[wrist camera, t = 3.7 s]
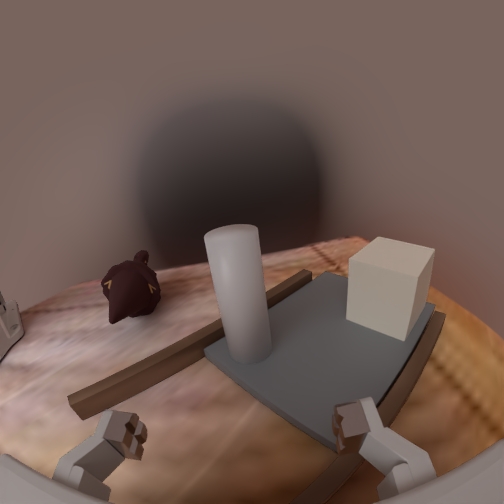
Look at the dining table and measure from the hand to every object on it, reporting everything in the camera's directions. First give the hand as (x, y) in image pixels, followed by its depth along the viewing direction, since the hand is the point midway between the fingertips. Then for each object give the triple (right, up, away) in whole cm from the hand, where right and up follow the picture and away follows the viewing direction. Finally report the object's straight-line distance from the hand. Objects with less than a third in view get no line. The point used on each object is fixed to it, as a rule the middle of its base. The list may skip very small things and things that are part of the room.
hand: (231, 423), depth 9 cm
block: (+14, +1, +13) cm, 19 cm away
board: (+8, -1, +13) cm, 15 cm away
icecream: (-13, -1, +22) cm, 25 cm away
